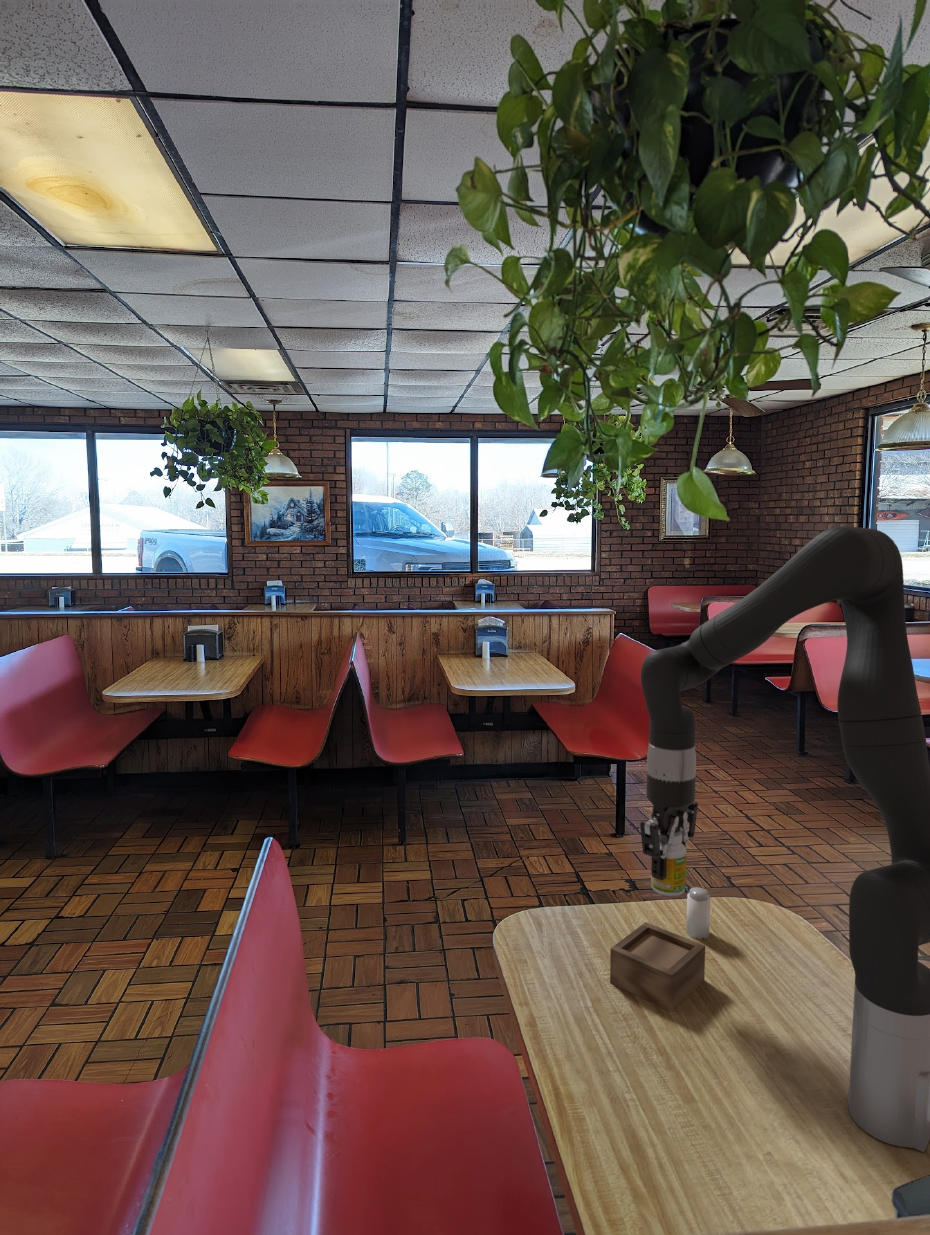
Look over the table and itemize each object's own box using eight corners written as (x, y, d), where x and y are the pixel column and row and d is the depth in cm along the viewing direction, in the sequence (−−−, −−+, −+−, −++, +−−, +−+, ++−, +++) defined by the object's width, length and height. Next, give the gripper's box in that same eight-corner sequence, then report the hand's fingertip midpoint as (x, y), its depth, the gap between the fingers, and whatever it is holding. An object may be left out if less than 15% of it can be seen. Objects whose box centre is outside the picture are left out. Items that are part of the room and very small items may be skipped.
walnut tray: (704, 979, 125) (705, 945, 124) (671, 1011, 117) (671, 975, 116) (645, 954, 133) (645, 922, 132) (610, 982, 125) (610, 948, 124)
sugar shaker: (713, 932, 139) (714, 891, 138) (702, 941, 136) (704, 899, 135) (692, 924, 142) (693, 884, 141) (682, 933, 139) (683, 892, 138)
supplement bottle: (677, 900, 120) (678, 841, 119) (645, 890, 123) (646, 833, 122) (690, 887, 124) (692, 830, 123) (659, 877, 127) (660, 822, 126)
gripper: (668, 788, 113) (665, 895, 116) (714, 765, 123) (711, 864, 126) (625, 777, 119) (623, 879, 121) (673, 755, 129) (671, 850, 131)
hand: (668, 871), depth 123 cm, fingers closed on supplement bottle, 5 cm apart
